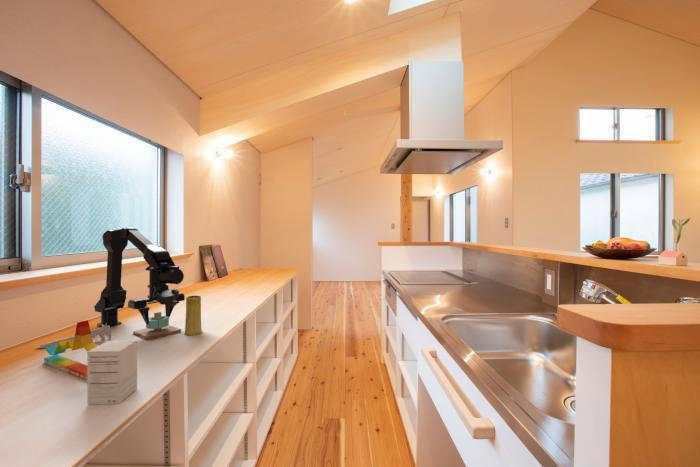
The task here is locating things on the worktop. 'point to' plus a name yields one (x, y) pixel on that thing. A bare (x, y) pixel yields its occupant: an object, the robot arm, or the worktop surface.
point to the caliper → (93, 332)
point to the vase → (193, 315)
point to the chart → (80, 341)
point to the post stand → (156, 330)
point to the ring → (158, 322)
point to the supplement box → (111, 372)
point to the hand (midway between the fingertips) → (157, 322)
